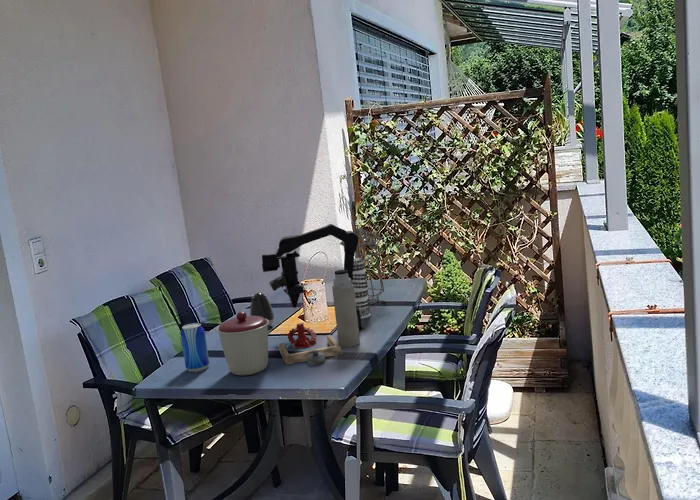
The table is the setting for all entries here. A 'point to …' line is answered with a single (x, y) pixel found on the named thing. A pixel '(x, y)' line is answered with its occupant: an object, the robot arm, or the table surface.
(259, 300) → the dark grey rounded cone
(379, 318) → the table surface
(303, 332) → the red cog wheel
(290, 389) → the table surface
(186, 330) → the beer can
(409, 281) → the table surface
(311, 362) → the carrier
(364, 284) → the decorative candle
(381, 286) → the geometric lantern
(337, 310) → the thermos bottle
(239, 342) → the canister
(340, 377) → the table surface
